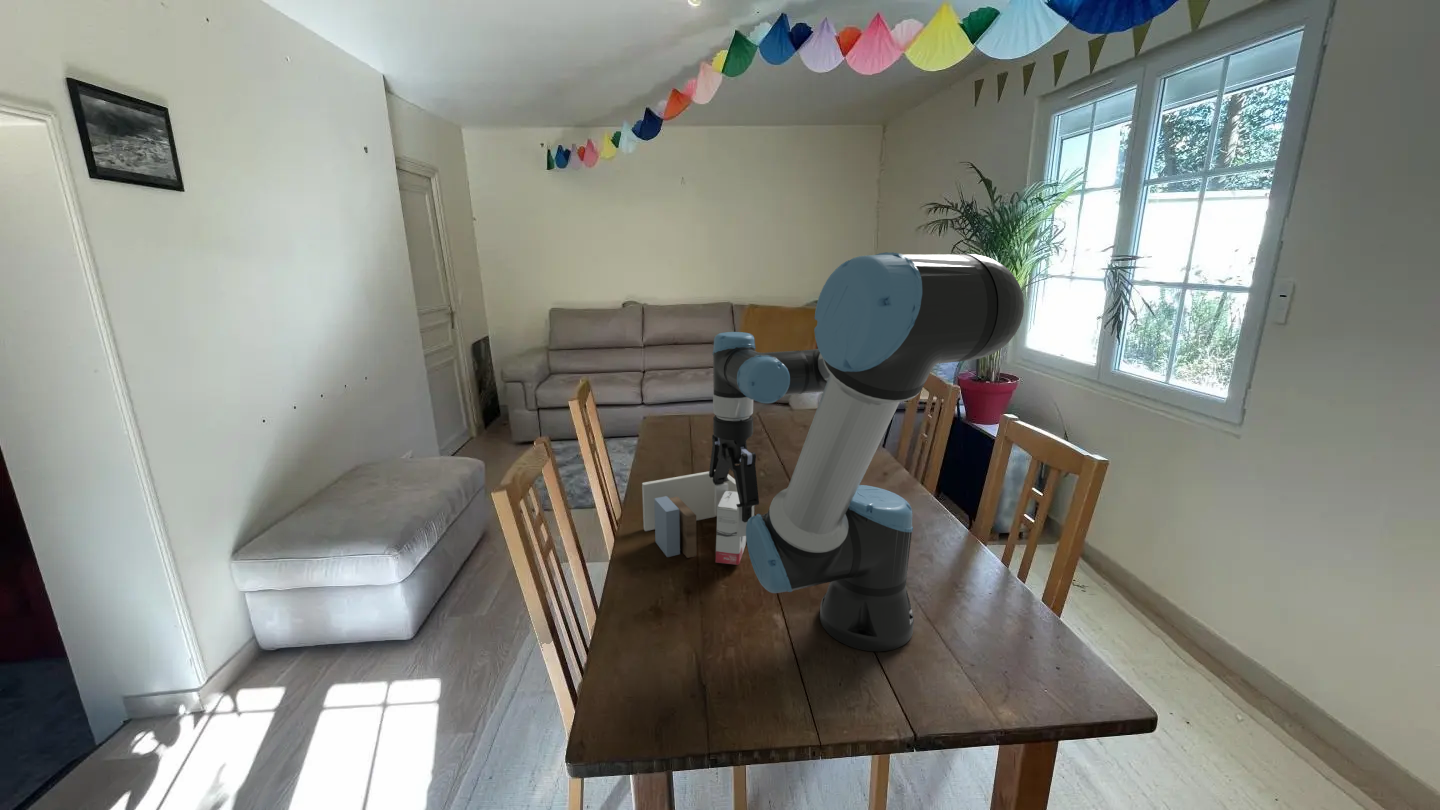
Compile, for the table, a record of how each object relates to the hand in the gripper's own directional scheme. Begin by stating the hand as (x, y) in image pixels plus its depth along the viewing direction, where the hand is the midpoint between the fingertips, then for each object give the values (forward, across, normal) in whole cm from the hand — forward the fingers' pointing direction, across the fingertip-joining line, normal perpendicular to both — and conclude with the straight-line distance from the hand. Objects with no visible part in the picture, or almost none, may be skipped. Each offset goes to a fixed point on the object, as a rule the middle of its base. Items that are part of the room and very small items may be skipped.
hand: (732, 524), depth 116 cm
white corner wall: (+8, +12, +2) cm, 14 cm away
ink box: (+7, 0, 0) cm, 7 cm away
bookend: (+8, +9, +7) cm, 14 cm away
